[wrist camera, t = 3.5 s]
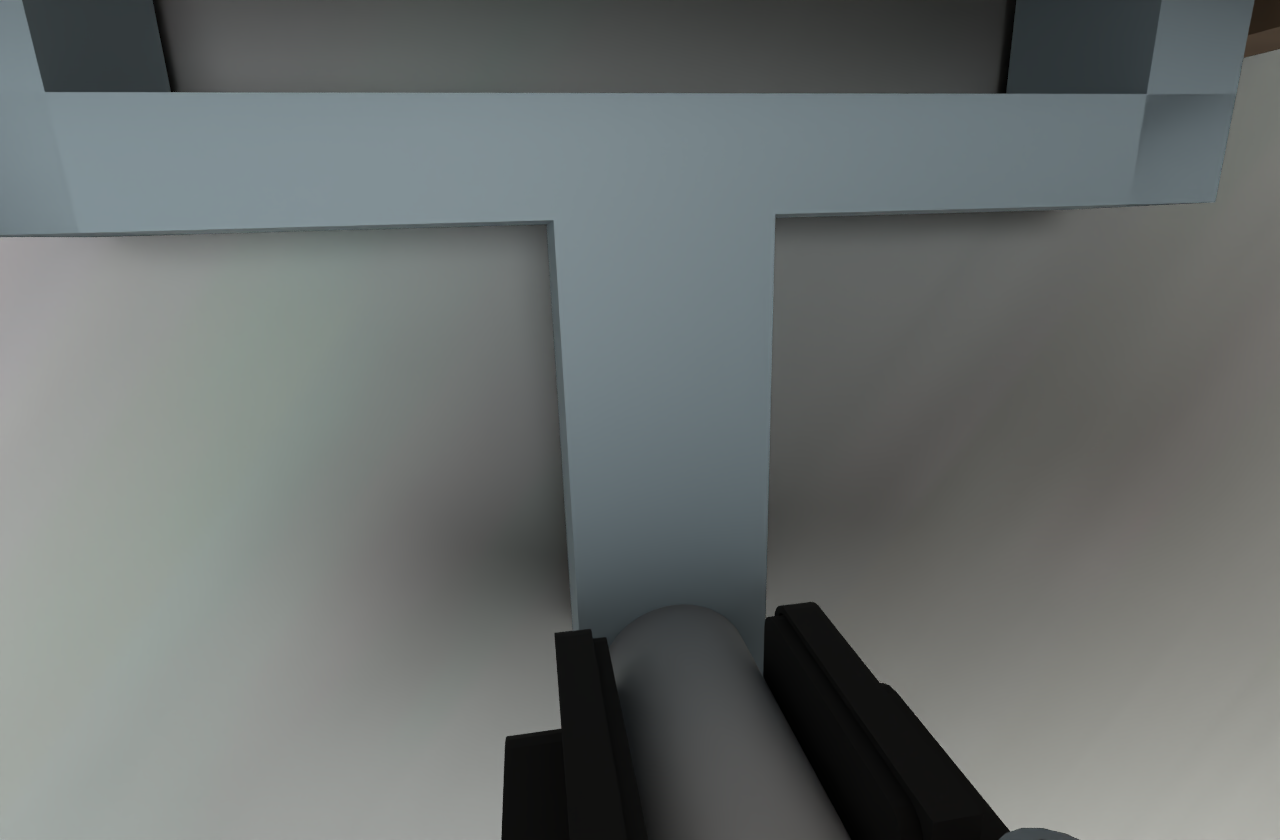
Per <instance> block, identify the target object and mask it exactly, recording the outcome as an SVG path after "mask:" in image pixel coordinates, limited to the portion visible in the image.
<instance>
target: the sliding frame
mask: <svg viewBox="0 0 1280 840" xmlns="http://www.w3.org/2000/svg"><path fill="white" fill-rule="evenodd" d="M1254 1H1255V0H1016V9H1015V19H1014V28H1013V37H1012V46H1011V55H1010V64H1009V74H1008V83H1007V92H1006V94H885V93H293V92H171V90H170V85H169V80H168V75H167V70H166V65H165V60H164V55H163V50H162V46H161V41H160V36H159V31H158V26H157V21H156V16H155V11H154V6H153V1H152V0H0V237H112V236H147V235H183V234H219V233H255V232H290V231H326V230H362V229H397V228H433V227H469V226H505V225H540V224H546V226H547V241H548V257H549V272H550V288H551V303H552V318H553V334H554V349H555V365H556V380H557V395H558V411H559V426H560V442H561V457H562V472H563V488H564V503H565V519H566V534H567V549H568V565H569V580H570V596H571V611H572V627H573V631H575V630H583V629H591V631H592V637H593V638H602V637H606V638H607V642H608V647H609V652H610V657H611V662H612V666H613V671H614V676H615V681H616V686H617V691H618V696H619V701H620V705H621V710H622V715H623V720H624V725H625V730H626V735H627V740H628V744H629V749H630V754H631V759H632V764H633V769H634V774H635V779H636V784H637V788H638V793H639V798H640V803H641V808H642V813H643V818H644V823H645V827H646V832H647V837H648V840H851V838H850V836H849V834H848V832H847V831H846V829H845V827H844V825H843V823H842V821H841V820H840V818H839V816H838V814H837V812H836V810H835V809H834V807H833V805H832V803H831V801H830V799H829V797H828V796H827V794H826V792H825V790H824V788H823V786H822V785H821V783H820V781H819V779H818V777H817V775H816V773H815V772H814V770H813V768H812V766H811V764H810V762H809V761H808V759H807V757H806V755H805V753H804V751H803V749H802V748H801V746H800V744H799V742H798V740H797V738H796V737H795V735H794V733H793V731H792V729H791V727H790V726H789V724H788V722H787V720H786V718H785V716H784V714H783V713H782V711H781V709H780V707H779V705H778V703H777V702H776V700H775V698H774V696H773V694H772V692H771V690H770V689H769V687H768V685H767V683H766V681H765V679H764V678H763V662H764V625H765V618H766V577H767V536H768V495H769V453H770V412H771V371H772V330H773V289H774V248H775V218H790V217H826V216H862V215H898V214H933V213H969V212H1005V211H1041V210H1070V209H1090V208H1110V207H1130V206H1150V205H1169V204H1189V203H1209V202H1215V201H1216V196H1217V191H1218V186H1219V180H1220V175H1221V170H1222V165H1223V160H1224V155H1225V150H1226V145H1227V139H1228V134H1229V129H1230V124H1231V119H1232V114H1233V109H1234V103H1235V98H1236V93H1237V88H1238V83H1239V78H1240V73H1241V67H1242V62H1243V57H1244V52H1245V47H1246V42H1247V37H1248V31H1249V26H1250V21H1251V16H1252V11H1253V6H1254Z"/></svg>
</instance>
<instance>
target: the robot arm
mask: <svg viewBox="0 0 1280 840" xmlns="http://www.w3.org/2000/svg"><path fill="white" fill-rule="evenodd" d="M555 647H556V660H557V674H558V687H559V701H560V715H561V728H562V729H556V730H549V731H542V732H535V733H528V734H521V735H514V736H507V737H506V741H505V761H504V787H503V813H502V840H648V837H647V832H646V827H645V823H644V818H643V813H642V808H641V803H640V798H639V793H638V788H637V784H636V779H635V774H634V769H633V764H632V759H631V754H630V749H629V744H628V740H627V735H626V730H625V725H624V720H623V715H622V710H621V705H620V701H619V696H618V691H617V686H616V681H615V676H614V671H613V666H612V662H611V657H610V652H609V647H608V642H607V638H606V637H602V638H593V637H592V631H591V629H583V630H575V631H567V632H559V633H555ZM763 678H764V679H765V681H766V683H767V685H768V687H769V689H770V690H771V692H772V694H773V696H774V698H775V700H776V702H777V703H778V705H779V707H780V709H781V711H782V713H783V714H784V716H785V718H786V720H787V722H788V724H789V726H790V727H791V729H792V731H793V733H794V735H795V737H796V738H797V740H798V742H799V744H800V746H801V748H802V749H803V751H804V753H805V755H806V757H807V759H808V761H809V762H810V764H811V766H812V768H813V770H814V772H815V773H816V775H817V777H818V779H819V781H820V783H821V785H822V786H823V788H824V790H825V792H826V794H827V796H828V797H829V799H830V801H831V803H832V805H833V807H834V809H835V810H836V812H837V814H838V816H839V818H840V820H841V821H842V823H843V825H844V827H845V829H846V831H847V832H848V834H849V836H850V838H851V840H1079V839H1077V838H1074V837H1072V836H1070V835H1068V834H1065V833H1061V832H1056V831H1052V830H1048V829H1044V828H1021V829H1017V830H1014V831H1011V832H1010V831H1009V829H1008V828H1007V827H1006V826H1005V824H1004V823H1003V822H1002V821H1001V820H1000V818H999V817H998V816H997V815H996V813H995V812H994V811H993V810H992V809H991V807H990V806H989V805H988V804H987V802H986V801H985V800H984V799H983V798H982V796H981V795H980V794H979V793H978V791H977V790H976V789H975V788H974V786H973V785H972V784H971V783H970V782H969V780H968V779H967V778H966V777H965V775H964V774H963V773H962V772H961V771H960V769H959V768H958V767H957V766H956V764H955V763H954V762H953V761H952V760H951V758H950V757H949V756H948V755H947V753H946V752H945V751H944V750H943V748H942V747H941V746H940V745H939V744H938V742H937V741H936V740H935V739H934V737H933V736H932V735H931V734H930V733H929V731H928V730H927V729H926V728H925V726H924V725H923V724H922V723H921V722H920V720H919V719H918V718H917V717H916V715H915V714H914V713H913V712H912V710H911V709H910V708H909V707H908V706H907V704H906V703H905V702H904V701H903V699H902V698H901V697H900V696H899V695H898V693H897V692H896V691H895V690H894V689H893V688H892V687H891V686H889V685H887V684H884V683H879V681H878V680H877V679H876V678H875V676H874V675H873V674H872V673H871V671H870V670H869V669H868V668H867V666H866V665H865V664H864V663H863V661H862V660H861V659H860V658H859V656H858V655H857V654H856V653H855V651H854V650H853V649H852V647H851V646H850V645H849V644H848V642H847V641H846V640H845V639H844V637H843V636H842V635H841V634H840V632H839V631H838V630H837V629H836V627H835V626H834V625H833V624H832V622H831V621H830V620H829V619H828V617H827V616H826V615H825V614H824V612H823V611H822V610H821V608H820V607H819V606H818V605H817V604H816V603H814V602H807V603H799V604H791V605H782V606H778V607H777V608H776V611H775V616H772V617H767V618H766V620H765V625H764V662H763Z"/></svg>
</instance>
